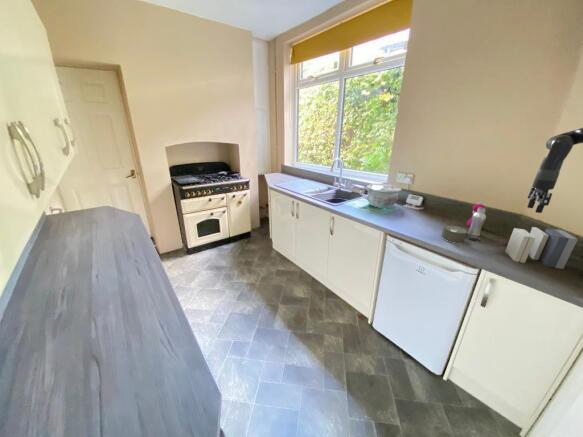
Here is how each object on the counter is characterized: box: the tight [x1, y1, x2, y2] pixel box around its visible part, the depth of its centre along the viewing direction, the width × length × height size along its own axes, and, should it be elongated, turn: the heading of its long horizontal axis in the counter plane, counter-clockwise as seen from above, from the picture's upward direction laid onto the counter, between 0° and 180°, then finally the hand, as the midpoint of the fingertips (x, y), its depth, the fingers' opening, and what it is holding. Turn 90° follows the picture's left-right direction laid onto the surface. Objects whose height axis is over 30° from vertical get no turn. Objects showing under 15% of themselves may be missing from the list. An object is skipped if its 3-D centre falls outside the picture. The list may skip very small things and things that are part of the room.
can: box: [441, 224, 468, 244], centre depth 141 cm, size 12×12×7 cm
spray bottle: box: [466, 201, 486, 227], centre depth 151 cm, size 7×7×20 cm
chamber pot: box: [360, 182, 402, 209], centre depth 198 cm, size 28×28×21 cm
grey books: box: [537, 228, 578, 270], centre depth 116 cm, size 6×11×16 cm, turn 158°
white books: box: [504, 227, 535, 264], centre depth 121 cm, size 4×11×14 cm, turn 159°
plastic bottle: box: [466, 207, 487, 242], centre depth 139 cm, size 6×7×20 cm
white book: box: [528, 226, 549, 261], centre depth 123 cm, size 2×11×14 cm, turn 158°
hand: (533, 210), depth 120 cm, fingers open, 8 cm apart
